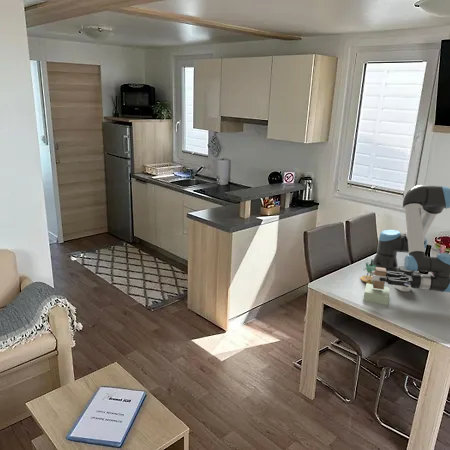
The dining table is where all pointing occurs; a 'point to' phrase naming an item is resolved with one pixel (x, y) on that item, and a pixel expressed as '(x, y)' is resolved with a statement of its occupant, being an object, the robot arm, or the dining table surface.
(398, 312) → the dining table surface
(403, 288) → the jar
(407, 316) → the dining table surface
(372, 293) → the sage block
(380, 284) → the walnut block
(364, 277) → the green insect figurine
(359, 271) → the dining table surface
